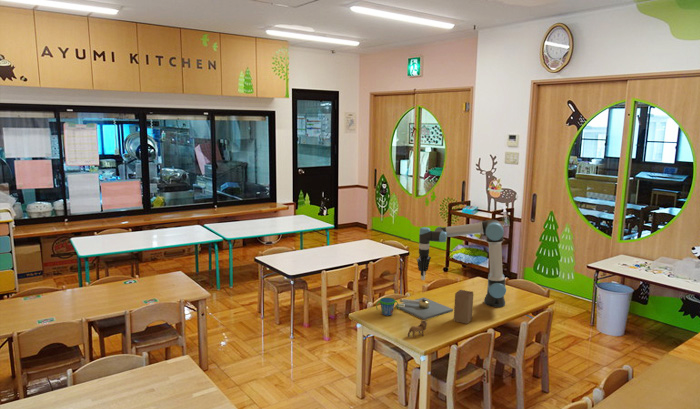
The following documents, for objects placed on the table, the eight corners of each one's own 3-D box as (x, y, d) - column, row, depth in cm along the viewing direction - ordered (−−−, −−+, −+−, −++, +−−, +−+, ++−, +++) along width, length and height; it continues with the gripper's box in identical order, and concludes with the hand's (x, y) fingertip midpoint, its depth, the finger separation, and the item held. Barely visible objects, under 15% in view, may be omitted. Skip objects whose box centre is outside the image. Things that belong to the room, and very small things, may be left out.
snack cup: (376, 316, 338) (376, 302, 337) (375, 310, 349) (376, 297, 347) (398, 317, 338) (399, 302, 337) (397, 311, 349) (398, 297, 347)
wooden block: (467, 324, 328) (469, 296, 324) (453, 321, 333) (454, 293, 330) (472, 319, 336) (474, 291, 333) (458, 316, 341) (459, 289, 338)
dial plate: (452, 311, 351) (452, 308, 351) (422, 320, 333) (422, 318, 333) (422, 298, 375) (422, 296, 375) (393, 306, 357) (393, 304, 357)
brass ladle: (429, 305, 356) (429, 298, 355) (428, 308, 349) (428, 301, 348) (400, 302, 362) (400, 294, 361) (398, 305, 355) (398, 298, 354)
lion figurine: (423, 331, 315) (423, 318, 314) (428, 334, 311) (429, 321, 309) (405, 336, 307) (405, 322, 306) (410, 339, 303) (411, 325, 302)
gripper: (426, 246, 367) (425, 276, 370) (414, 248, 359) (413, 279, 363) (434, 248, 361) (432, 279, 364) (421, 250, 353) (420, 282, 357)
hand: (422, 279), depth 363 cm, fingers closed
